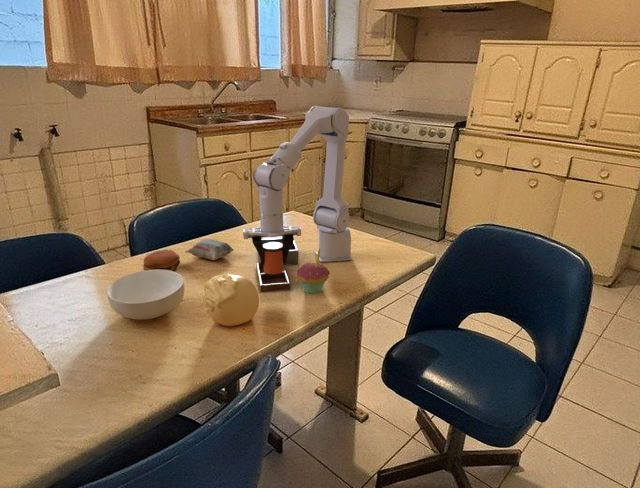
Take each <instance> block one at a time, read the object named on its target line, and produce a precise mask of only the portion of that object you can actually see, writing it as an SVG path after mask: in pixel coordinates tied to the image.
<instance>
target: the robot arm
mask: <svg viewBox="0 0 640 488" xmlns="http://www.w3.org/2000/svg"><path fill="white" fill-rule="evenodd" d="M304 117H305V118H304V122H303V124H302V125H301V126H300V127H299V129H298V131H297V132H296V133H295V135H294V136H293V137H292V139H291V140H290V142H289V141H285V142H283V143H282V142H281V143H280V144H279V146H278V148H277V150H275V152H274V153H273V154H272V156H270V157H269V159H268V160H267V161H266V162H263V163H261V164H259V165H258V166H257V167H256V168H255V170H254V175H253V176H252V180H253V184H255V185H256V192H257V193H258V196H259V199H258V200H259V218H260V219H259V220H260V222H259V223H260V227H253V228H248V229H247V228H246V229H242V235H243V236H242V237H243V240H248V239H251V242H252V245H253V246H254V248H255V250H256V252H257V255H258V254H259V255H258V258H259V257H260V260H261V265H264V259H263V242H262V239H263V238H277V237H281V238H282V240H283V263H286V261H287V256H288V253H289V250H290V248H291V246H292V244H293V242H294V241H295V236H296V237H302V228H301V226H292V225H284V195H283V194H284V192H283V188H285V187H286V185H287V184H288V179H289V176H290V173H291V171H292V170H293V169H294V167H295V166H296V164H298V162H299V161H300V160H301V158H302V151H303V150H304V149H305V148H306V147H307V145H308V144H310V143H311V141H312V140H313V139H314V138H315V137H316V136H318V135H319V136H321V137H322V138H323V139H324V140H325V142H326V147H325V148H326V150H325V161H324V162H325V163H324V177H323V178H324V179H323V190H322V191H323V192H322V197H321V198H319V199H318V200H317V201H316V202H315V208H314V211H313V213H312V220H313V223H314V224H315V225H316V228H317V229H318V250H319V249H320V257H319V263H330V262H342V261H351V260H352V257H351V250H352V234H351V231H350V229H349V228H348V227H349V224H350V218H351V217H350V213H349V204H348V203H347V202H346V201H345V200H344V199H343V198H342V194H343V182H344V180H343V179H344V168H345V158H346V157H345V156H346V145H347V139H348V133H349V123H350V115H348V113H347V111H346V109H344V107H329V106H328V107H327V106H319V105H313V106H312V107H310V108H309V110H308V111H307V112H306V113H305V116H304ZM318 250H315V255H316V256H317V253H318ZM260 260H259V261H260Z"/></svg>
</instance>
